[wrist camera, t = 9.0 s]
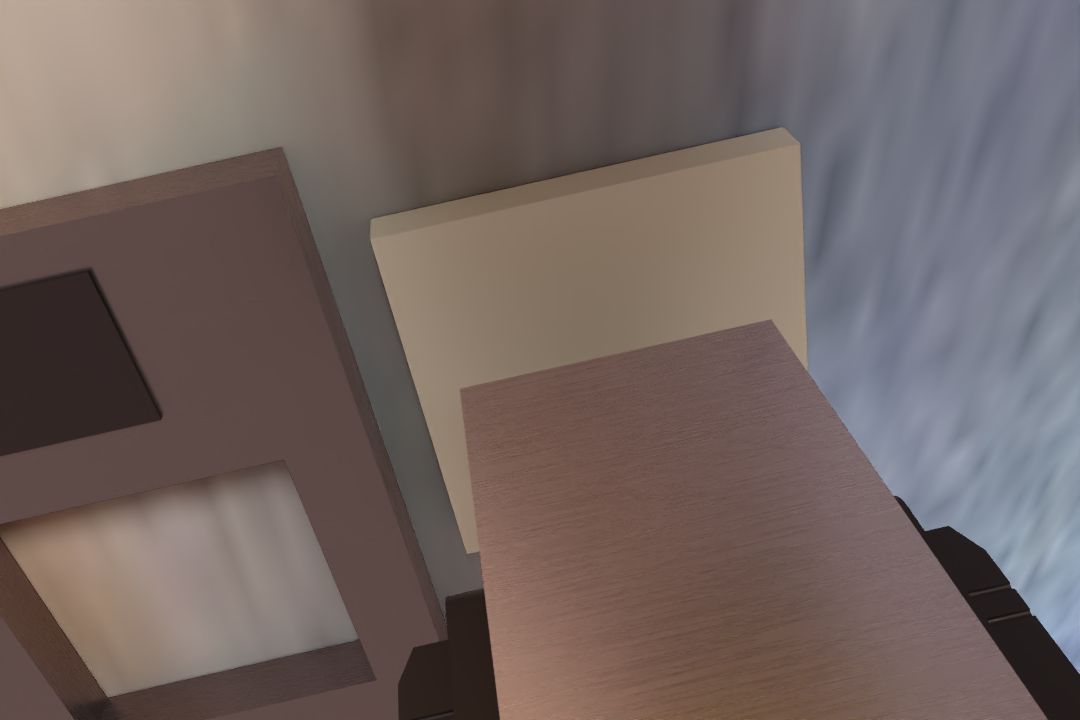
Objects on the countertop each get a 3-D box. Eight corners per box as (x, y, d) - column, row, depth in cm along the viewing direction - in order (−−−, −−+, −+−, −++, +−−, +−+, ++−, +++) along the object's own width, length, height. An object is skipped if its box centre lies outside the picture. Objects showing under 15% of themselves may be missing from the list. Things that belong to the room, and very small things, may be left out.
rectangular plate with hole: (282, 147, 15) (273, 177, 14) (491, 757, 24) (496, 805, 23) (-288, 273, 15) (-340, 314, 14) (132, 840, 24) (120, 893, 23)
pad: (783, 126, 16) (800, 143, 15) (797, 450, 20) (810, 475, 19) (370, 219, 16) (369, 239, 15) (464, 526, 20) (466, 554, 19)
